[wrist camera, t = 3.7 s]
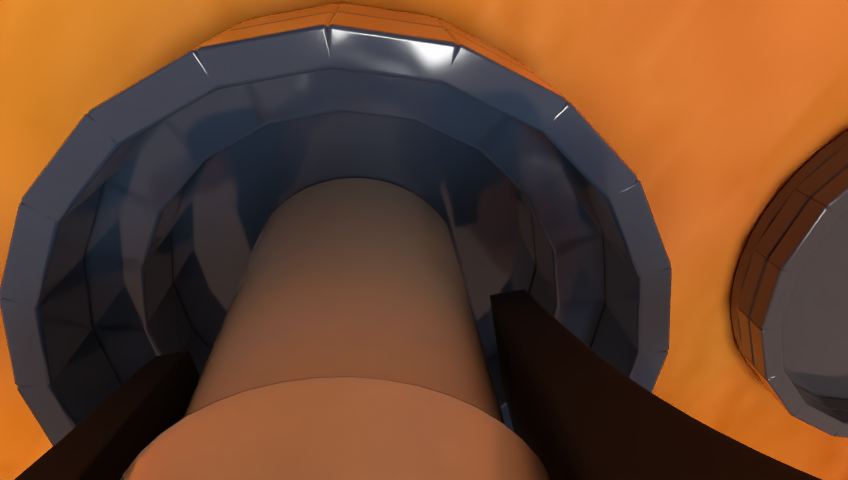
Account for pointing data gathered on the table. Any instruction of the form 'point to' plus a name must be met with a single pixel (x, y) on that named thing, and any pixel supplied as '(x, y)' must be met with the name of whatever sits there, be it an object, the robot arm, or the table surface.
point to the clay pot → (346, 356)
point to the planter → (309, 165)
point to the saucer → (800, 293)
